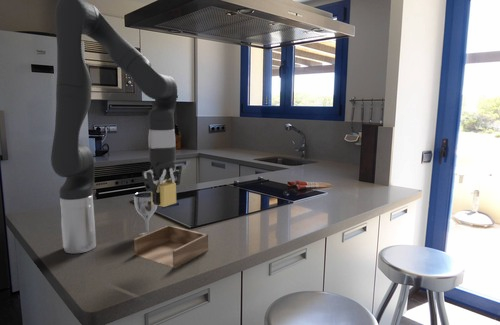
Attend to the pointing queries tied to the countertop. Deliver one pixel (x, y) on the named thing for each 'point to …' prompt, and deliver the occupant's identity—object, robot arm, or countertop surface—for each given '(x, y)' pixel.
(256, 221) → the countertop surface
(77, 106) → the robot arm
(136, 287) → the countertop surface
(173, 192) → the block
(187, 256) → the box
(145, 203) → the wine glass
